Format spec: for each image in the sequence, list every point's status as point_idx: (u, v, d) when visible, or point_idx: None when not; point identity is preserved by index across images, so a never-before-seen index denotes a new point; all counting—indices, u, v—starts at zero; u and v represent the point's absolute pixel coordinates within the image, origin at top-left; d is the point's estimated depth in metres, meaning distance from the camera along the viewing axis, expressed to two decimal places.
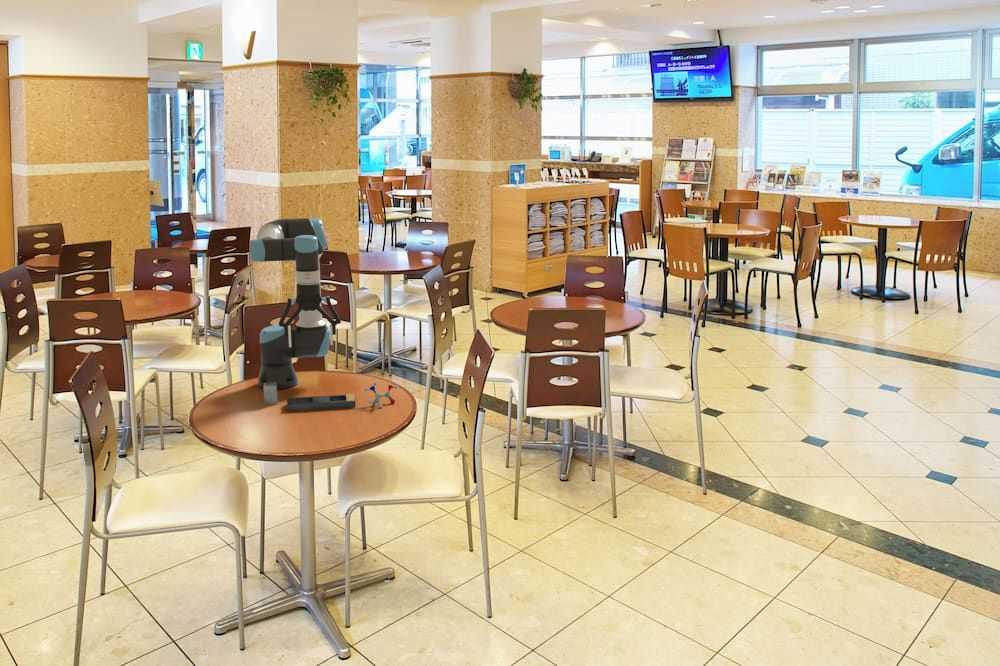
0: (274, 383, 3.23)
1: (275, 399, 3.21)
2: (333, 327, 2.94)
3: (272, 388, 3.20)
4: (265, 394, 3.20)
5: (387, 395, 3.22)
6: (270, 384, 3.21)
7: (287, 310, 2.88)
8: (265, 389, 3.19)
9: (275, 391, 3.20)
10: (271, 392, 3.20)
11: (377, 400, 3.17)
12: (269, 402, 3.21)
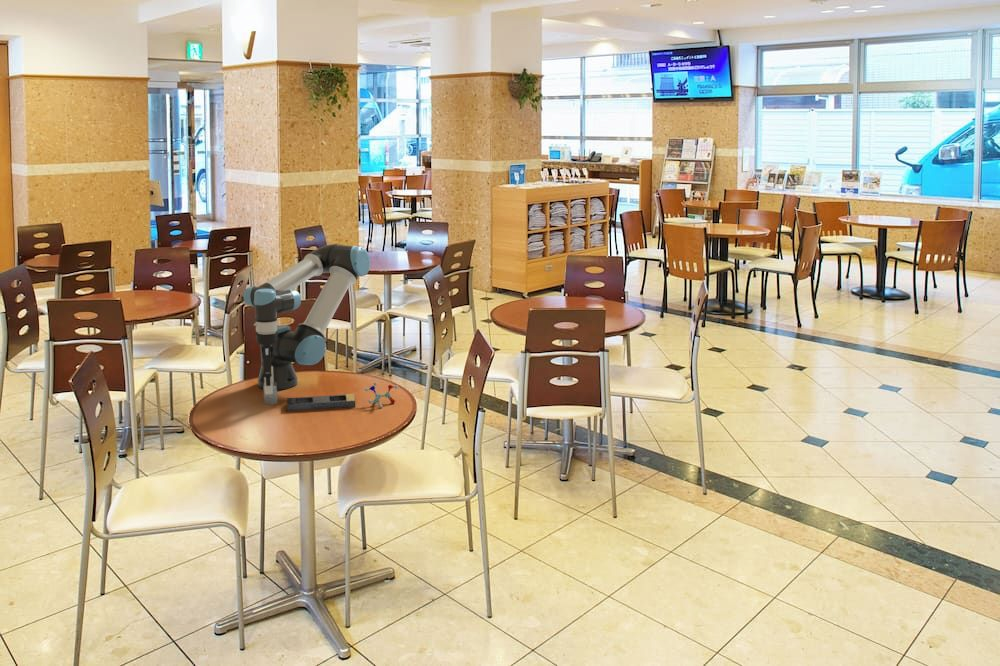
0: (274, 383, 3.23)
1: (275, 399, 3.21)
2: (266, 378, 3.13)
3: None
4: (265, 394, 3.20)
5: (387, 395, 3.22)
6: None
7: None
8: None
9: (275, 391, 3.20)
10: None
11: (377, 400, 3.17)
12: (269, 402, 3.21)
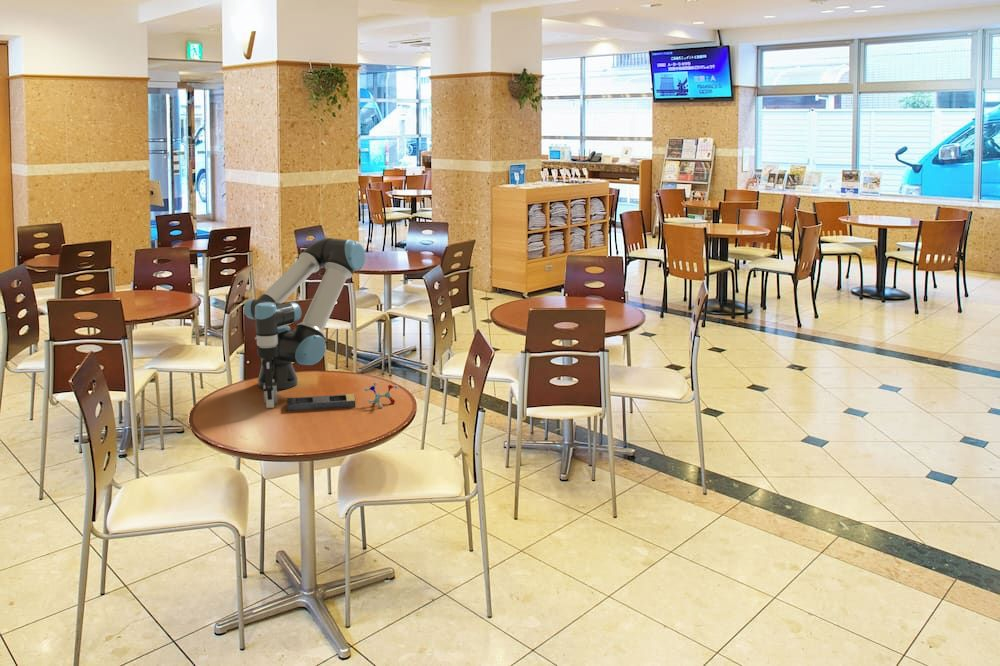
0: (274, 383, 3.23)
1: (275, 399, 3.21)
2: None
3: None
4: (265, 394, 3.20)
5: (387, 395, 3.22)
6: None
7: None
8: None
9: (275, 391, 3.20)
10: None
11: (377, 400, 3.17)
12: None
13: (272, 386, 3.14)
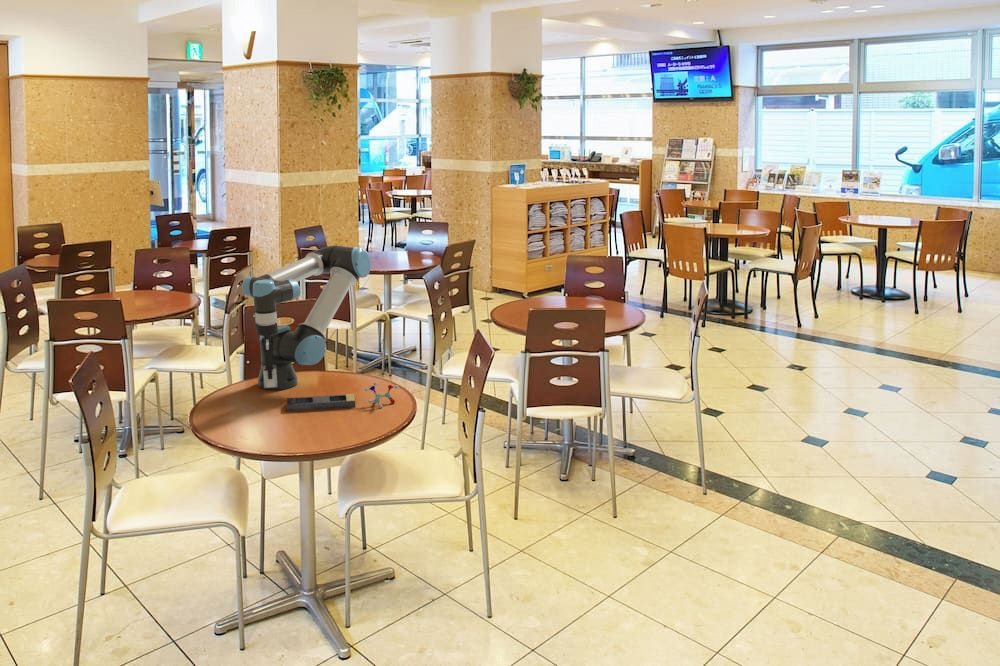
0: (274, 366, 3.22)
1: (275, 382, 3.20)
2: (267, 372, 3.17)
3: None
4: (265, 377, 3.19)
5: (387, 395, 3.22)
6: None
7: None
8: (265, 372, 3.18)
9: (275, 374, 3.19)
10: None
11: (377, 400, 3.17)
12: None
13: None
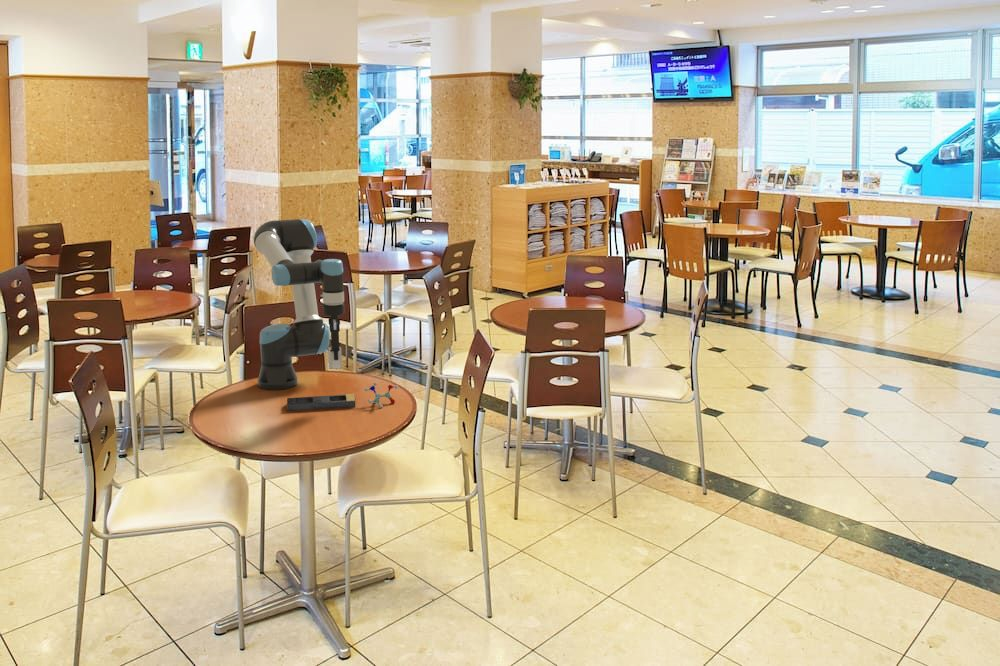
0: (339, 347, 3.17)
1: (340, 364, 3.15)
2: (333, 353, 3.12)
3: None
4: (330, 358, 3.14)
5: (387, 395, 3.22)
6: None
7: None
8: (330, 353, 3.13)
9: (340, 355, 3.14)
10: None
11: (377, 400, 3.17)
12: None
13: None
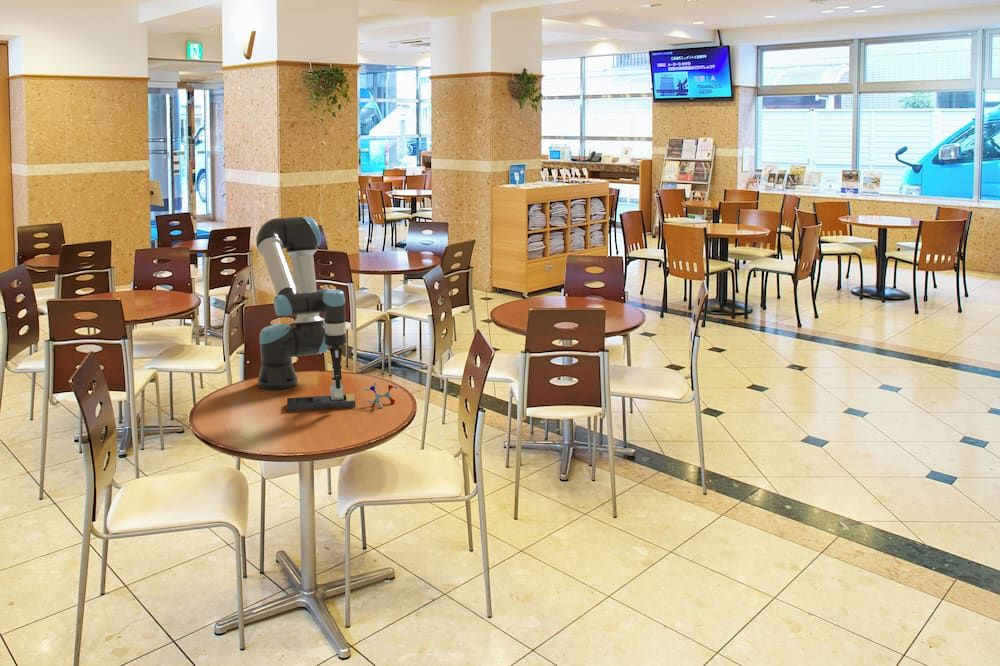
0: None
1: None
2: (335, 381, 3.12)
3: None
4: (332, 397, 3.17)
5: (387, 395, 3.22)
6: None
7: None
8: (332, 392, 3.17)
9: (342, 394, 3.18)
10: None
11: (377, 400, 3.17)
12: None
13: None
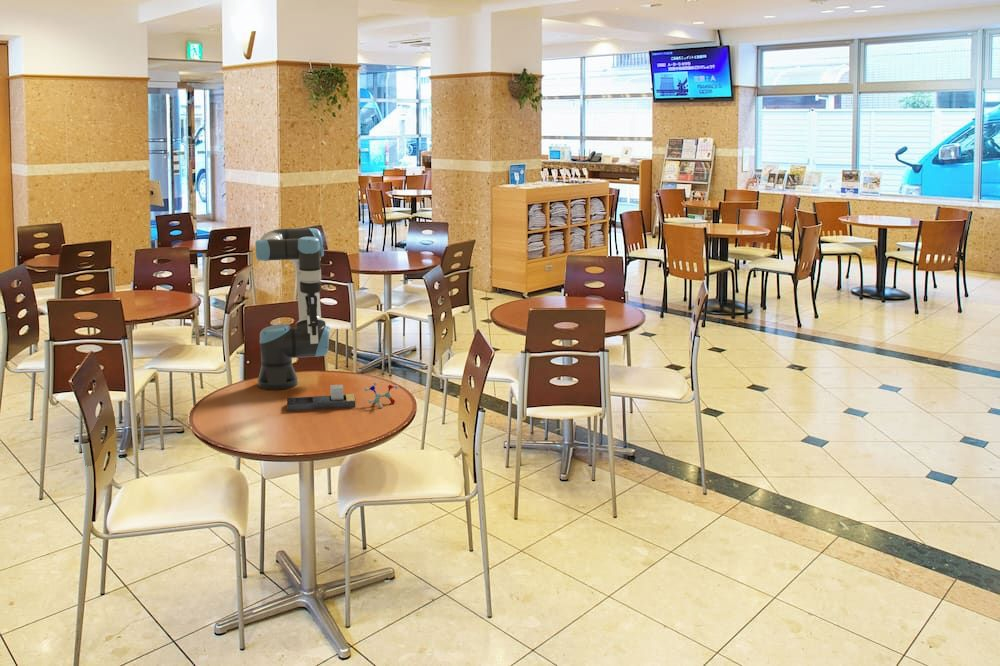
0: (341, 385, 3.20)
1: None
2: (311, 328, 3.09)
3: (339, 391, 3.17)
4: (332, 397, 3.17)
5: (387, 395, 3.22)
6: (337, 387, 3.19)
7: None
8: (332, 392, 3.17)
9: (342, 394, 3.18)
10: (338, 395, 3.18)
11: (377, 400, 3.17)
12: None
13: None
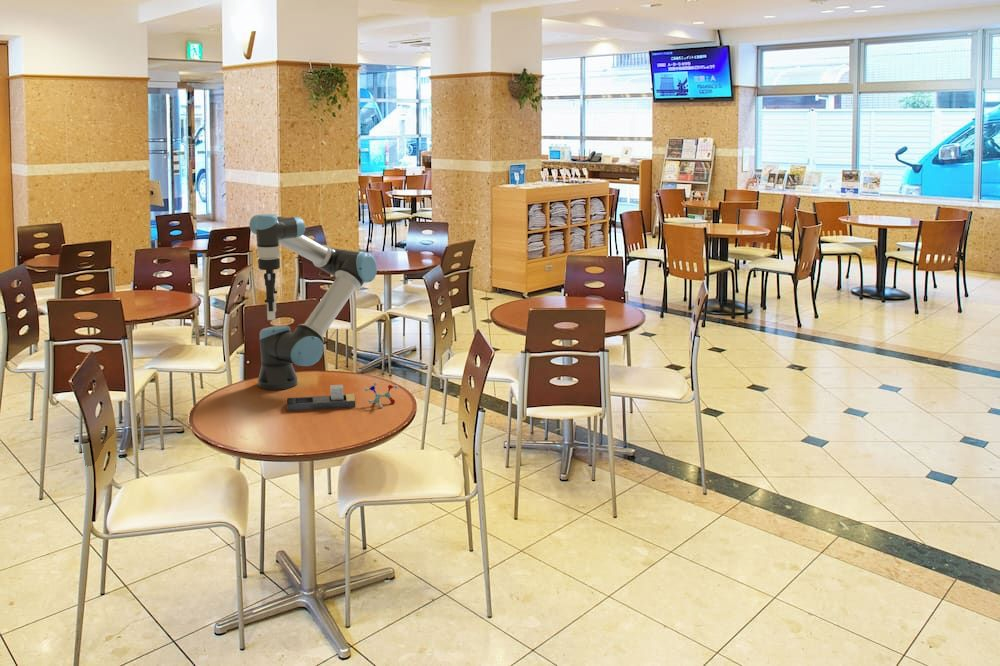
0: (341, 385, 3.20)
1: None
2: (268, 304, 3.11)
3: (339, 391, 3.17)
4: (332, 397, 3.17)
5: (387, 395, 3.22)
6: (337, 387, 3.19)
7: None
8: (332, 392, 3.17)
9: (342, 394, 3.18)
10: (338, 395, 3.18)
11: (377, 400, 3.17)
12: None
13: None
